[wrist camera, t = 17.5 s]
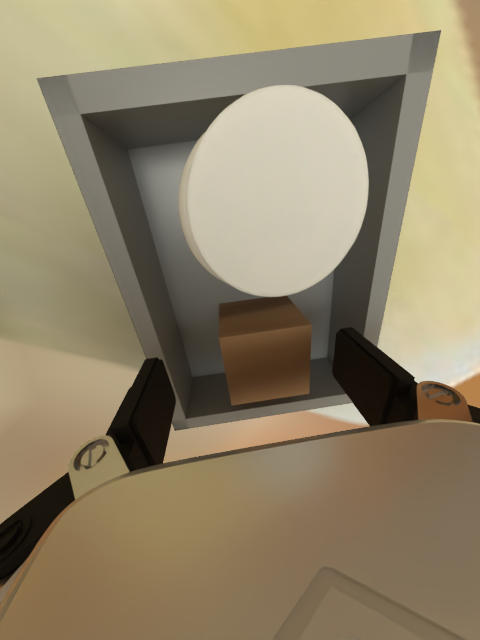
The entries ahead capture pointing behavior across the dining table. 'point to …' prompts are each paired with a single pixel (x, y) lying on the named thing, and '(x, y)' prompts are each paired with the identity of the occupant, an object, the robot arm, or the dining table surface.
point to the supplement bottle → (274, 191)
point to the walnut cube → (265, 349)
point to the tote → (163, 198)
